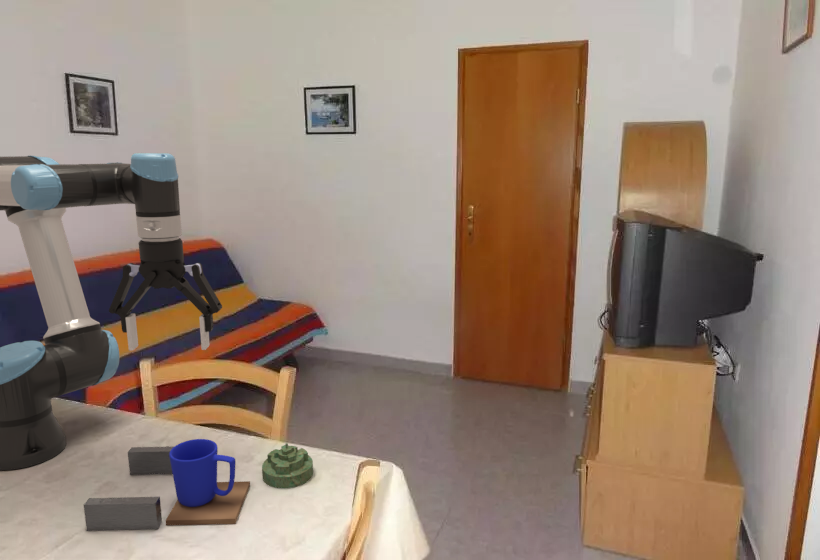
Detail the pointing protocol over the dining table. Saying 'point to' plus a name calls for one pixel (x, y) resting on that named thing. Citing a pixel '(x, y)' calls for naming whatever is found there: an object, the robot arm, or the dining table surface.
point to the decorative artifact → (287, 467)
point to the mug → (198, 471)
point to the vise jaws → (131, 509)
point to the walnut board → (212, 508)
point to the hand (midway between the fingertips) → (169, 348)
